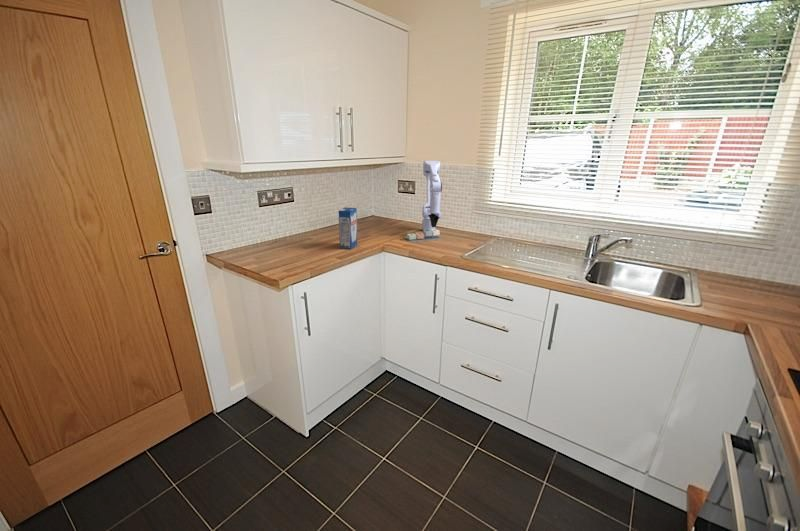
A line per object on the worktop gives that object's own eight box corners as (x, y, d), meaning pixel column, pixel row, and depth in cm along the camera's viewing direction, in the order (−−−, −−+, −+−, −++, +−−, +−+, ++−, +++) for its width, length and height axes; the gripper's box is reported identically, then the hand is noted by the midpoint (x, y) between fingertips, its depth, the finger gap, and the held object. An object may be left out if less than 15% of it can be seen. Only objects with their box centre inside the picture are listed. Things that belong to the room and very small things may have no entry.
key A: (430, 233, 201) (430, 229, 200) (436, 233, 203) (436, 229, 202) (433, 235, 198) (433, 231, 197) (439, 234, 199) (439, 230, 198)
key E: (406, 237, 196) (407, 233, 195) (413, 237, 198) (413, 233, 197) (409, 239, 193) (409, 235, 192) (416, 239, 194) (416, 234, 193)
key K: (422, 234, 199) (422, 230, 199) (428, 233, 201) (428, 229, 200) (425, 236, 196) (425, 231, 195) (431, 235, 197) (432, 231, 197)
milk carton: (351, 249, 178) (350, 211, 171) (339, 248, 179) (338, 210, 172) (357, 244, 187) (356, 208, 180) (346, 243, 188) (345, 207, 181)
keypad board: (403, 238, 200) (403, 236, 199) (433, 236, 207) (433, 234, 207) (411, 244, 190) (411, 242, 189) (443, 241, 197) (443, 239, 197)
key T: (414, 237, 198) (414, 233, 197) (420, 236, 199) (421, 232, 199) (417, 239, 195) (417, 234, 194) (424, 238, 196) (424, 234, 195)
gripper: (423, 201, 199) (422, 224, 203) (434, 206, 186) (433, 230, 191) (433, 201, 201) (432, 223, 206) (446, 205, 189) (444, 229, 193)
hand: (433, 227), depth 198 cm, fingers closed
